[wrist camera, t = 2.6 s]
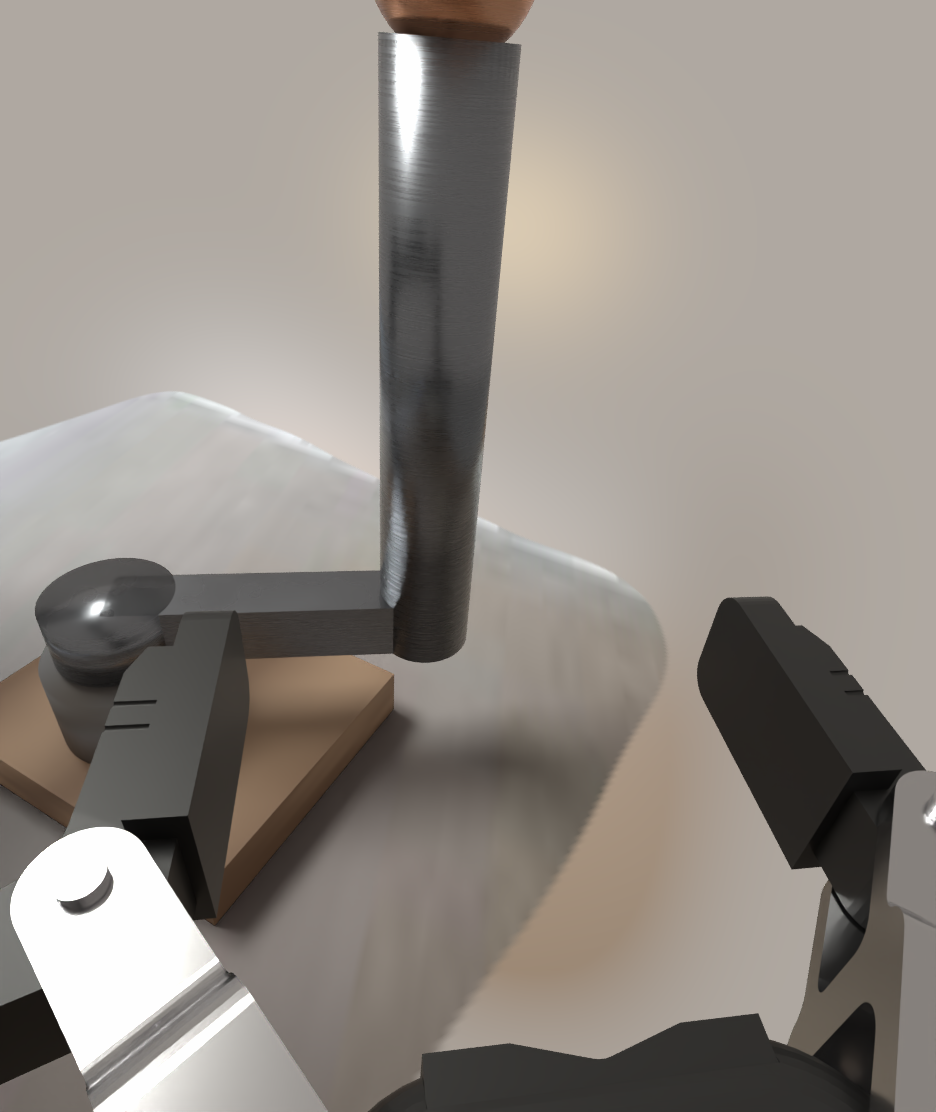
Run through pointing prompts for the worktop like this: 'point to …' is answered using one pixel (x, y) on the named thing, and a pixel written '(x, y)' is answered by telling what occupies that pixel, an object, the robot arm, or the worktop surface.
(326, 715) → the cracker base
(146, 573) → the lever
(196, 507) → the worktop surface
